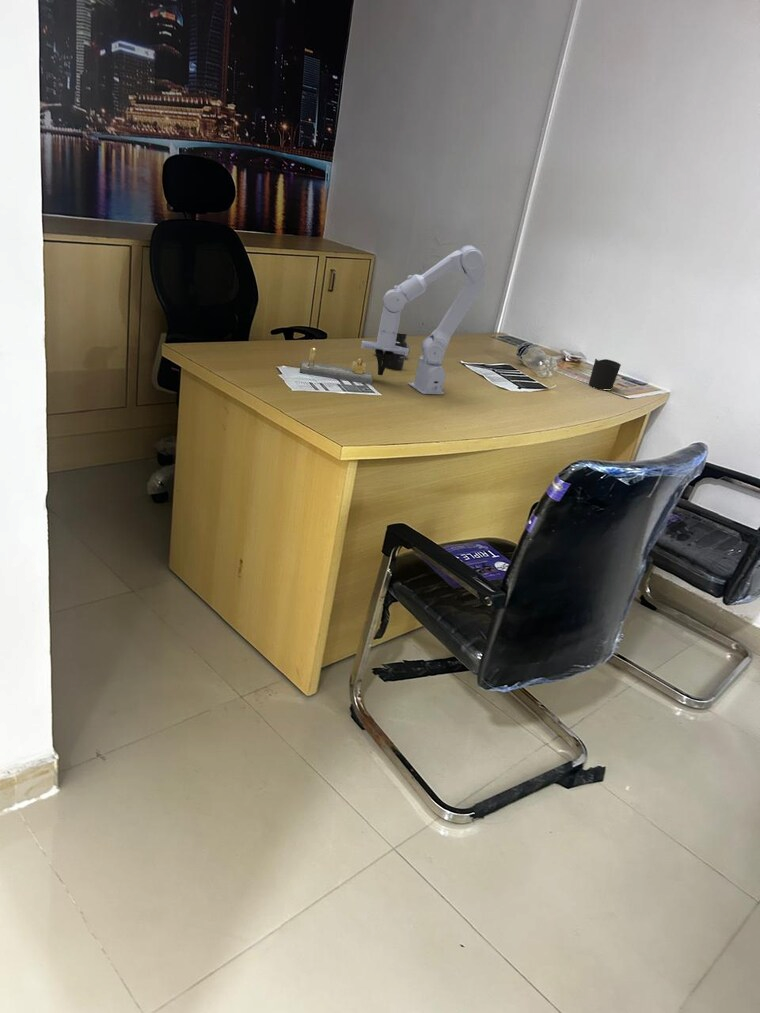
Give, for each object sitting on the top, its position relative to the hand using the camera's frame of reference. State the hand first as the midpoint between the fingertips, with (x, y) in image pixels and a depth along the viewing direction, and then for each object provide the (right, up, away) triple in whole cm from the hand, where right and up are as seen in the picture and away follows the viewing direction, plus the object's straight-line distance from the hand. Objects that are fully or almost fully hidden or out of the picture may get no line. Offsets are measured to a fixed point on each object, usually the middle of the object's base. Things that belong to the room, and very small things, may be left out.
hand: (380, 374), depth 224 cm
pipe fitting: (+4, +12, +32) cm, 34 cm away
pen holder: (+83, +4, +49) cm, 96 cm away
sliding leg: (-7, 0, -2) cm, 7 cm away
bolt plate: (-14, 0, -1) cm, 13 cm away
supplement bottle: (+4, +6, +20) cm, 21 cm away
